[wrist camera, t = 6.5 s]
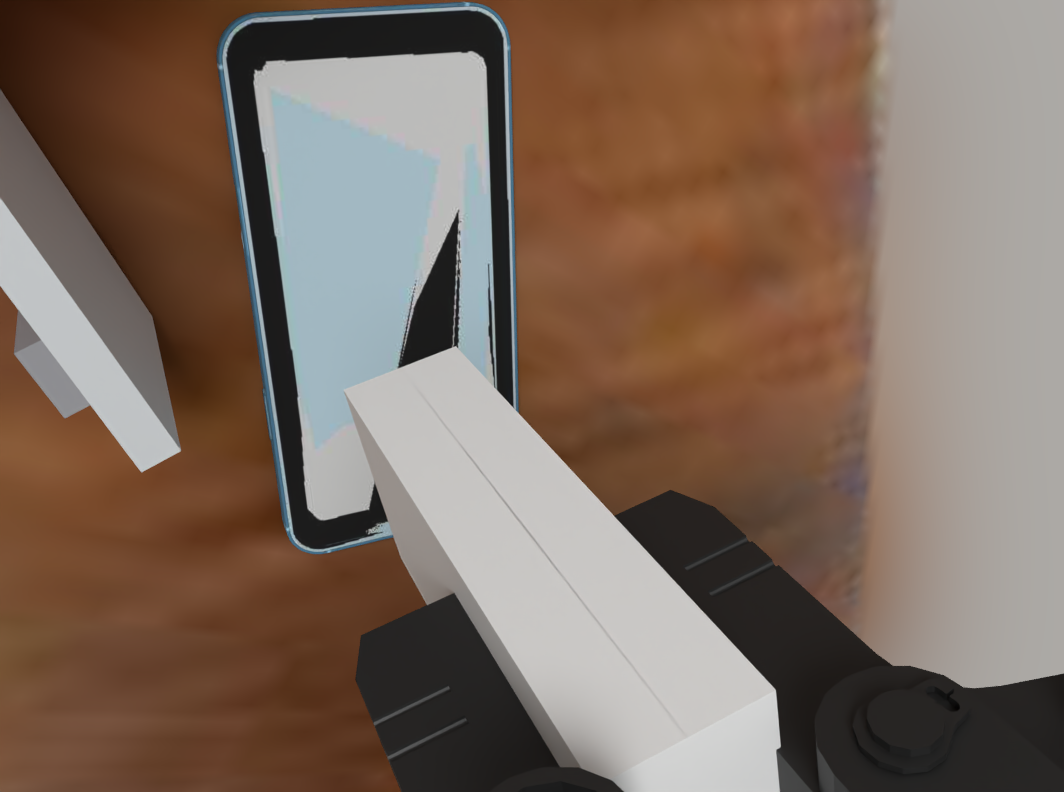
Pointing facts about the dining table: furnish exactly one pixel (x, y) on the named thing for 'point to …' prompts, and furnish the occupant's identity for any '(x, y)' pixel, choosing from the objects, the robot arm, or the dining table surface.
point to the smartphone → (367, 225)
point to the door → (77, 306)
